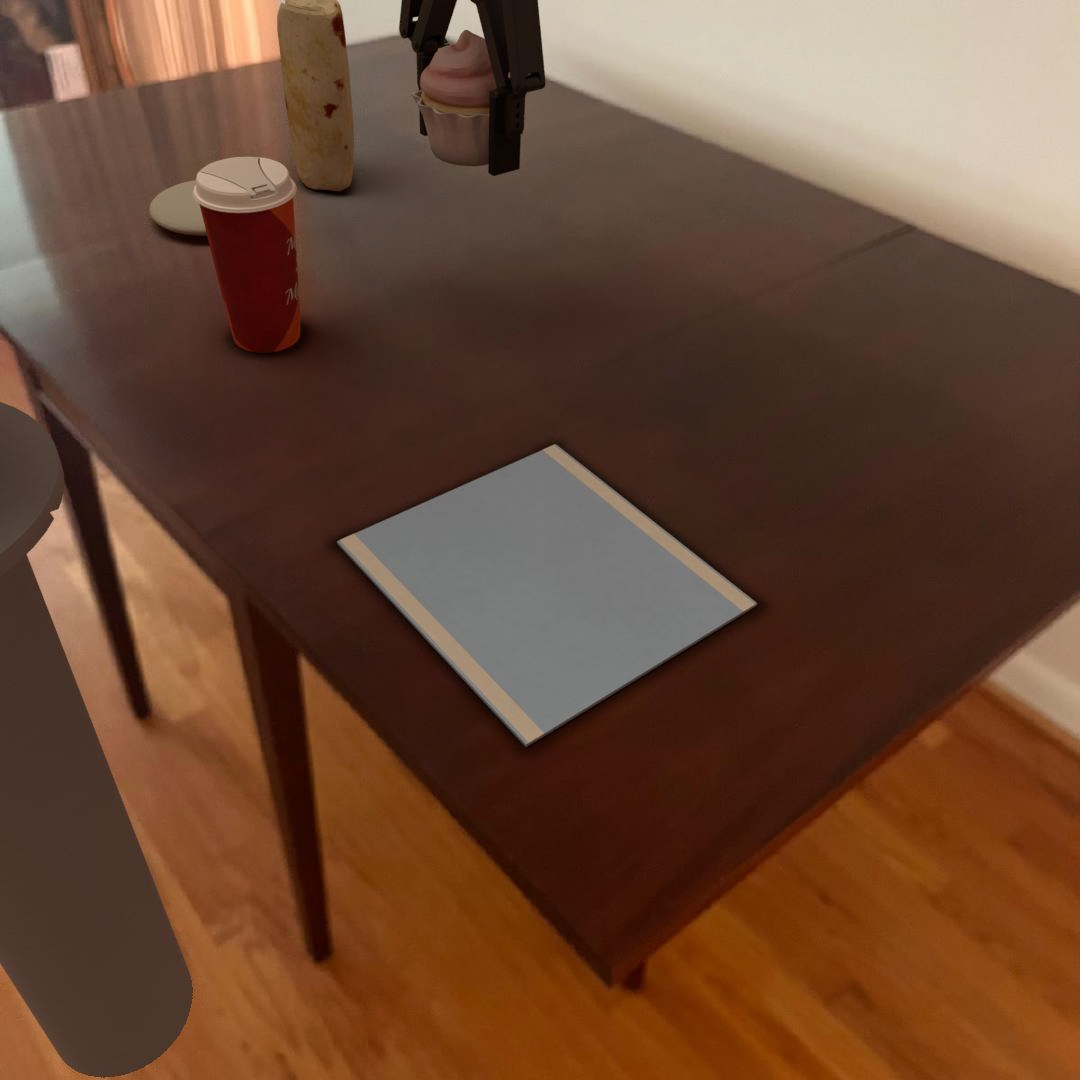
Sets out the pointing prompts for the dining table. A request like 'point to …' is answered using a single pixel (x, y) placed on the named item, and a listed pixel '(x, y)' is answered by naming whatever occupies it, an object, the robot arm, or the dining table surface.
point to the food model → (317, 91)
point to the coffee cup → (253, 248)
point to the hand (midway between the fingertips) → (468, 150)
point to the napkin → (544, 588)
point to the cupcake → (458, 101)
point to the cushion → (178, 210)
